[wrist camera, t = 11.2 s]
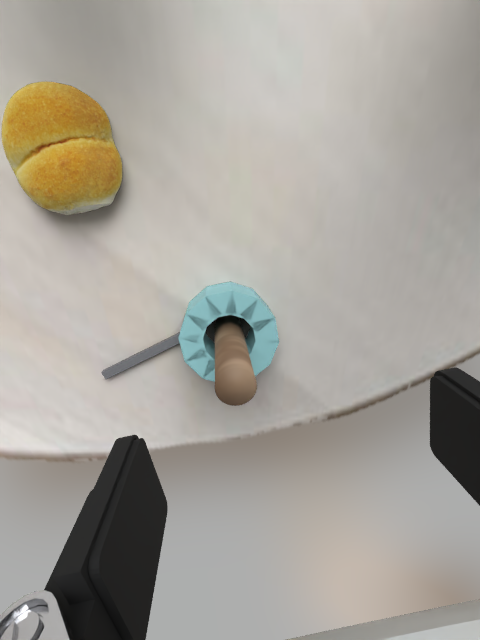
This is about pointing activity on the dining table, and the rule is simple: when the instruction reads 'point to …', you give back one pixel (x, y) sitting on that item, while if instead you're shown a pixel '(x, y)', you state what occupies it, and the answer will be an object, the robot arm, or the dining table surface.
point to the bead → (224, 303)
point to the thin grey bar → (141, 356)
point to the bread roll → (61, 148)
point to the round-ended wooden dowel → (232, 363)
